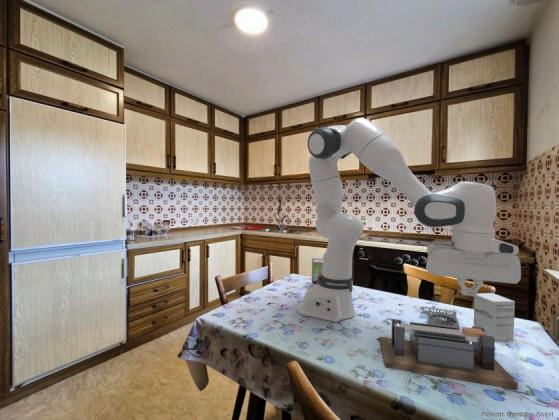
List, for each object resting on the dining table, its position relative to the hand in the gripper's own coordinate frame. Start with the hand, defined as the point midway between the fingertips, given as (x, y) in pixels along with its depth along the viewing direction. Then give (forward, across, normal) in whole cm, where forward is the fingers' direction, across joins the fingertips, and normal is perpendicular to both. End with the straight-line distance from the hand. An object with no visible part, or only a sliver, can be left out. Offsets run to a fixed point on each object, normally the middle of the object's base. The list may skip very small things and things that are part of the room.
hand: (468, 295), depth 65 cm
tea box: (+20, -39, +52) cm, 68 cm away
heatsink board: (+19, -6, 0) cm, 20 cm away
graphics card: (+19, +2, +24) cm, 30 cm away
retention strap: (+12, -7, 0) cm, 13 cm away
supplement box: (+18, +16, +20) cm, 31 cm away
